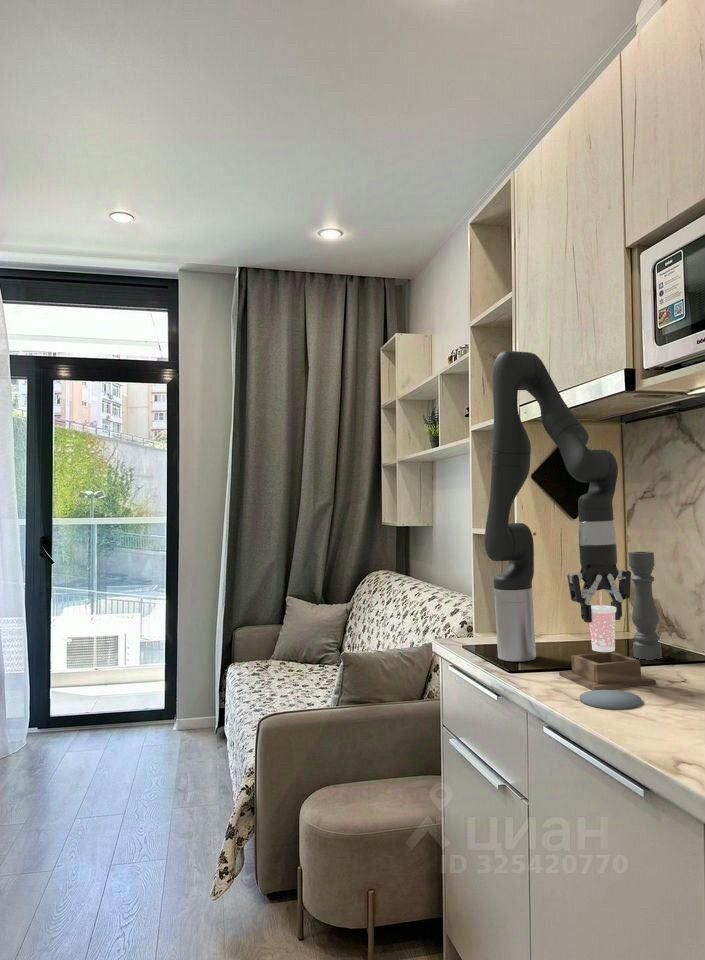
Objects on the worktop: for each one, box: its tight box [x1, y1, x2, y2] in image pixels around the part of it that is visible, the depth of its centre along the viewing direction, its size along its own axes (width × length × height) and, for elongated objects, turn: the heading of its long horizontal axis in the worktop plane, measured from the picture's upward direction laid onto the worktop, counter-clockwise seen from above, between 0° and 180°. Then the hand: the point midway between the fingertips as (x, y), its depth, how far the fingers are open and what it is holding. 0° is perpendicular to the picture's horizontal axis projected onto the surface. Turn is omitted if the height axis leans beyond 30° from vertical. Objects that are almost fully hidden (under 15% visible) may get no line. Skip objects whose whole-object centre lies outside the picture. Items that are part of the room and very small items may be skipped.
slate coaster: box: [579, 689, 643, 710], centre depth 130 cm, size 11×11×1 cm
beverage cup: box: [588, 589, 616, 653], centre depth 146 cm, size 6×6×14 cm
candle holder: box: [628, 551, 663, 661], centre depth 163 cm, size 6×6×25 cm
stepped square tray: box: [558, 651, 657, 691], centre depth 145 cm, size 14×14×4 cm
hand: (601, 620), depth 146 cm, fingers closed on beverage cup, 6 cm apart
